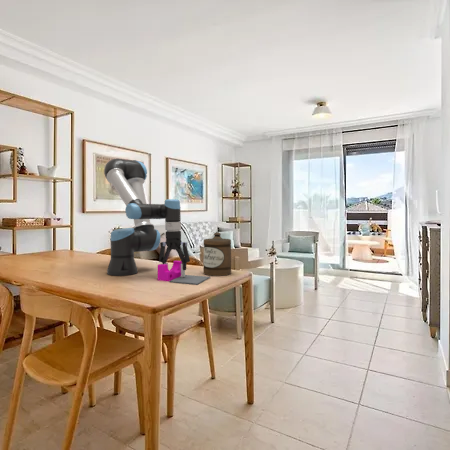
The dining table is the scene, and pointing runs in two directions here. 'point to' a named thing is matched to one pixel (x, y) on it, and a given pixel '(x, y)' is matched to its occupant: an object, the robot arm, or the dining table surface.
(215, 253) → the wooden container
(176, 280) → the mat
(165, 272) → the toy block
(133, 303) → the dining table surface
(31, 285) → the dining table surface
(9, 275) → the dining table surface
